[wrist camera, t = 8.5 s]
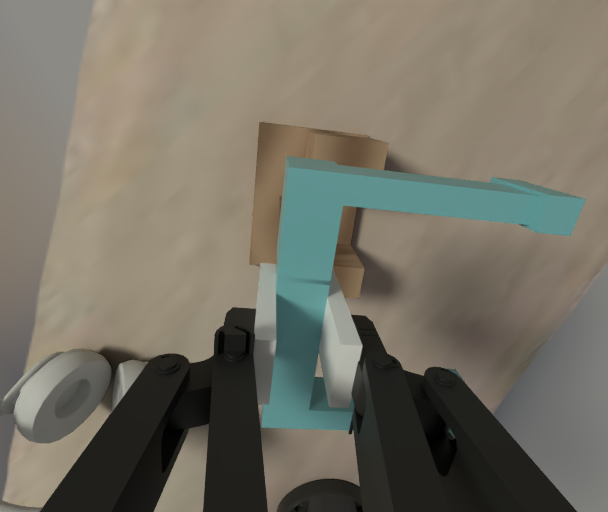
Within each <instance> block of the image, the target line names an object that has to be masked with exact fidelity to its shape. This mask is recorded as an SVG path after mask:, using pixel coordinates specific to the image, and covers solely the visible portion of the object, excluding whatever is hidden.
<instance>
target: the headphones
mask: <svg viewBox="0 0 608 512" xmlns="http://www.w3.org/2000/svg"><path fill="white" fill-rule="evenodd" d="M147 363H148V361H147V362H141V361H138V360H129V361H126V362H123V363H121V364H119V366H118V369H117V372H116V376H115V381H114V389H113V399H112V411H113V410H114V409H115V407H116V406H117V405H118V403H119V402H120V400H121V399H122V398H123V396H124V395H125V393H126V392H127V391H128V389H129V388H130V387H131V385H132V384H133V382H134V381H135V380H136V378H137V377H138V376H139V374H140V373H141V371H142V370H143V369H144V367H145V366H146V365H147ZM110 380H111V366H110V365H109V363H108V361H107V360H106V359H105V358H104V356H102V355H100V354H98V353H96V352H92V351H89V350H85V349H73V350H70V351H67V352H56V353H53V354H51V355H49V356H47V357H45V358H43V359H42V360H40V361H39V362H37V363H36V364H35V365H34V366H33V367H32V368H30V369H29V370H28V371H27V372H26V373H25V374H24V376H23V377H22V378H21V379H20V380H19V381H18V382H17V383H16V385H15V386H14V387H13V388H12V389H11V390H10V391H9V392H8V394H7V395H6V396H5V397H4V398H0V416H2V415H3V414H12V413H13V416H14V421H15V424H16V425H17V429H18V430H19V432H20V433H21V434H22V435H23V436H24V437H25V438H26V439H27V440H29V441H31V442H36V443H51V442H54V441H57V440H60V439H62V438H63V437H65V436H66V435H68V434H70V433H71V432H73V431H74V430H75V429H76V428H77V427H78V426H80V425H81V424H82V423H83V422H84V421H85V420H86V419H87V418H88V417H89V416H90V415H91V413H92V412H93V411H94V410H95V409H96V407H97V406H98V404H99V403H100V401H101V400H102V399H103V397H104V395H105V393H106V391H107V389H108V387H109V383H110ZM20 389H21V390H20ZM19 390H20V396H19V398H18V399H17V401H16V405H14V404H13V399H14V397H15V396H16V394H17V393H18V391H19ZM41 509H42V508H36V507H26V506H19V505H15V504H11V503H8V502H5V501H2V500H0V512H40V511H41Z"/></svg>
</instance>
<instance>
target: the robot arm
mask: <svg viewBox="0 0 608 512" xmlns="http://www.w3.org/2000/svg"><path fill="white" fill-rule="evenodd" d="M275 348H276V264H270V263H261V264H260V275H259V285H258V296H257V306H256V309H249V308H235V307H233V308H232V309H231V310H230V311H228V312H227V313H226V317H225V322H224V326H222V327H220V328H219V329H218V330H217V331H216V333H215V340H214V355H213V356H212V357H210V358H209V359H207V360H204V361H201V362H196V363H189V361H188V359H187V358H186V357H184V356H183V355H179V354H164V355H159V356H157V357H155V358H153V359H152V360H151V361H149V362H148V363H147V365H146V366H145V367H144V369H143V370H142V371H141V373H140V374H139V376H138V377H137V378H136V380H135V381H134V382H133V384H132V385H131V387H130V388H129V389H128V391H127V392H126V393H125V395H124V396H123V398H122V399H121V400H120V402H119V403H118V405H117V406H116V407H115V409H114V410H113V411H112V413H111V414H110V416H109V417H108V418H107V420H106V421H105V422H104V424H103V425H102V427H101V428H100V429H99V431H98V432H97V433H96V435H95V436H94V438H93V439H92V440H91V442H90V443H89V445H88V446H87V447H86V449H85V450H84V451H83V453H82V454H81V456H80V457H79V458H78V460H77V461H76V462H75V464H74V465H73V467H72V468H71V469H70V471H69V472H68V473H67V475H66V476H65V478H64V479H63V480H62V482H61V483H60V484H59V486H58V487H57V489H56V490H55V491H54V493H53V494H52V496H51V497H50V498H49V500H48V501H47V502H46V504H45V505H44V507H43V508H42V509H41V511H40V512H154V509H155V507H156V505H157V502H158V500H159V498H160V496H161V493H162V491H163V489H164V486H165V484H166V482H167V479H168V477H169V475H170V473H171V470H172V468H173V466H174V463H175V461H176V459H177V456H178V454H179V452H180V450H181V447H182V445H183V443H184V440H185V438H186V436H187V433H188V430H189V428H192V427H197V426H201V425H205V424H209V434H208V449H207V463H206V478H205V492H204V507H203V512H268V509H267V498H266V487H265V476H264V465H263V454H262V443H261V432H260V421H259V410H258V404H264V405H269V401H270V392H271V384H272V375H273V366H274V357H275ZM319 355H320V361H321V366H322V372H323V377H324V383H325V388H326V394H327V399H328V404H329V407H338V408H349V407H350V402H351V397H352V398H353V402H354V410H353V414H352V419H351V424H350V428H349V434H352V430H353V429H354V438H355V447H356V456H357V464H358V473H359V482H360V488H358V487H357V486H355V485H353V484H351V483H348V482H345V481H340V480H318V481H313V482H309V483H306V484H304V485H301V486H299V487H297V488H295V489H294V490H292V491H291V492H289V493H288V494H287V495H286V496H285V497H284V498H283V499H282V501H281V502H280V504H279V506H278V509H277V512H577V511H576V510H575V509H574V508H573V506H572V505H571V504H570V503H569V502H568V501H567V500H566V498H565V497H564V496H563V495H562V494H561V493H560V492H559V490H558V489H557V488H556V487H555V486H554V485H553V483H552V482H551V481H550V480H549V479H548V478H547V477H546V475H545V474H544V473H543V472H542V471H541V470H540V469H539V467H538V466H537V465H536V464H535V463H534V462H533V461H532V459H531V458H530V457H529V456H528V455H527V454H526V453H525V451H524V450H523V449H522V448H521V447H520V446H519V444H518V443H517V442H516V441H515V440H514V439H513V438H512V436H511V435H510V434H509V433H508V432H507V431H506V430H505V428H504V427H503V426H502V425H501V424H500V423H499V421H498V420H497V419H496V418H495V417H494V416H493V415H492V413H491V412H490V411H489V410H488V409H487V408H486V407H485V405H484V404H483V403H482V402H481V401H480V400H479V399H478V397H477V396H476V395H475V394H474V393H473V392H472V390H471V389H470V388H469V387H468V386H467V385H466V384H465V382H464V381H463V380H462V379H461V378H460V377H459V376H458V375H456V374H455V373H453V372H452V371H450V370H448V369H444V368H441V367H431V368H428V369H427V370H426V371H425V374H424V376H422V375H418V374H415V373H411V372H408V371H405V370H403V368H402V366H401V364H400V362H399V361H398V360H397V359H396V358H394V357H393V356H391V355H389V354H387V352H386V350H385V348H384V346H383V344H382V341H381V339H380V337H379V335H378V333H377V331H376V329H375V326H374V324H373V322H372V321H370V320H369V319H368V318H367V317H366V316H361V315H351V314H350V311H349V308H348V306H347V303H346V301H345V298H344V295H343V293H342V290H341V287H340V285H339V282H338V279H337V277H336V274H335V271H334V269H332V275H331V281H330V287H329V293H328V297H327V302H326V308H325V314H324V320H323V326H322V332H321V338H320V344H319ZM449 430H451V431H452V433H453V435H454V436H455V438H454V437H453V436H452V435H451V433H450V432H449Z"/></svg>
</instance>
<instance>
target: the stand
mask: <svg viewBox="0 0 608 512" xmlns="http://www.w3.org/2000/svg"><path fill="white" fill-rule="evenodd" d="M388 146H389V143H387V142H383V141H379V140H375V139H371V138H369V136H367V135H359V134H351V133H343V132H335V131H327V130H319V129H312V128H304V127H296V126H288V125H280V124H272V123H264V122H260V123H259V137H258V151H257V165H256V179H255V193H254V207H253V221H252V235H251V249H250V263H249V265H260V264H261V263H270V264H276V265H277V242H278V232H279V223H280V213H281V203H282V193H283V184H284V174H285V164H286V156H292V157H300V158H309V159H317V160H326V161H334V162H335V163H336V164H337V165H343V166H352V167H360V168H369V169H377V170H384V166H385V161H386V156H387V151H388ZM356 210H357V207H352V206H343V209H342V215H341V221H340V227H339V233H338V239H337V245H336V251H335V257H334V263H333V269H334V271H335V274H336V277H337V279H338V282H339V285H340V287H341V290H342V293H343V295H344V298H356V299H359V295H360V289H361V284H362V279H363V274H364V267H363V265H362V263H361V262H360V260H359V258H358V257H357V255H356V253H355V251H354V250H353V248H352V246H351V239H352V233H353V227H354V222H355V216H356Z"/></svg>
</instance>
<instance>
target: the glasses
mask: <svg viewBox="0 0 608 512" xmlns="http://www.w3.org/2000/svg"><path fill="white" fill-rule="evenodd" d="M585 200H586V199H583V198H580V197H576V196H573V195H569V194H566V193H562V192H559V191H555V190H552V189H548V188H545V187H541V186H538V185H534V184H531V183H527V182H524V181H520V180H512V179H504V178H495V177H492V178H491V181H490V183H487V182H479V181H470V180H462V179H453V178H445V177H437V176H428V175H420V174H411V173H403V172H394V171H386V170H377V169H369V168H360V167H352V166H343V165H337V164H336V163H335V162H334V161H326V160H317V159H309V158H300V157H292V156H286V164H285V174H284V184H283V193H282V203H281V213H280V223H279V232H278V242H277V265H276V348H275V357H274V366H273V375H272V384H271V392H270V401H269V405H264V404H262V426H261V428H292V429H324V430H349V428H350V424H351V419H352V414H353V410H354V402H353V398H352V397H351V402H350V407H349V408H338V407H329V404H328V399H327V394H326V388H325V383H324V377H315V371H316V365H317V359H318V353H319V344H320V338H321V332H322V326H323V320H324V314H325V308H326V302H327V297H328V293H329V287H330V281H331V275H332V269H333V263H334V257H335V251H336V245H337V239H338V233H339V227H340V221H341V215H342V209H343V206H352V207H361V208H371V209H380V210H390V211H400V212H409V213H419V214H428V215H438V216H447V217H457V218H466V219H476V220H485V221H495V222H504V223H514V224H519V225H521V226H523V227H526V228H528V229H530V230H532V231H534V232H537V233H546V234H556V235H566V236H571V234H572V231H573V229H574V226H575V224H576V222H577V219H578V217H579V214H580V212H581V210H582V207H583V205H584V202H585ZM448 370H450V371H452V372H453V373H455V374H456V375H458V376H459V377H460V378H461V376H460V375H459V373H458V372H457V371H456V369H448ZM461 379H462V378H461ZM462 380H463V379H462ZM353 430H354V429H353ZM449 432H450V433H451V435H452V436H453V437H454V438H455V436H454V435H453V433H452V431H451V430H449Z"/></svg>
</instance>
